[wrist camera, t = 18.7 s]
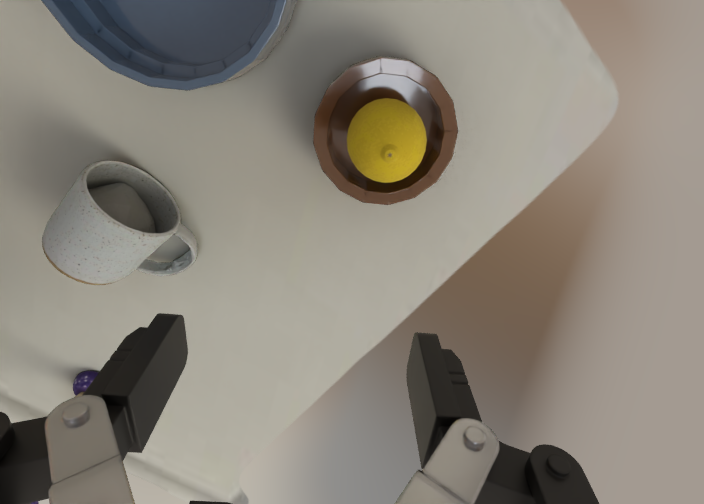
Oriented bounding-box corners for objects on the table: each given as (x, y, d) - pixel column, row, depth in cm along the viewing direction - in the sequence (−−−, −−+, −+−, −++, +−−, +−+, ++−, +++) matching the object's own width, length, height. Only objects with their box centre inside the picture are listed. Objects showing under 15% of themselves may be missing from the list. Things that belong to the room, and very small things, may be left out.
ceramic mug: (70, 211, 36) (6, 252, 29) (119, 147, 33) (60, 177, 27) (171, 282, 40) (134, 333, 33) (222, 230, 37) (193, 275, 30)
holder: (314, 183, 35) (310, 197, 32) (322, 48, 30) (318, 50, 27) (433, 195, 35) (440, 210, 32) (460, 64, 30) (472, 67, 27)
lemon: (387, 75, 30) (397, 86, 23) (431, 132, 32) (453, 159, 25) (333, 126, 32) (326, 151, 25) (378, 177, 33) (383, 214, 26)
